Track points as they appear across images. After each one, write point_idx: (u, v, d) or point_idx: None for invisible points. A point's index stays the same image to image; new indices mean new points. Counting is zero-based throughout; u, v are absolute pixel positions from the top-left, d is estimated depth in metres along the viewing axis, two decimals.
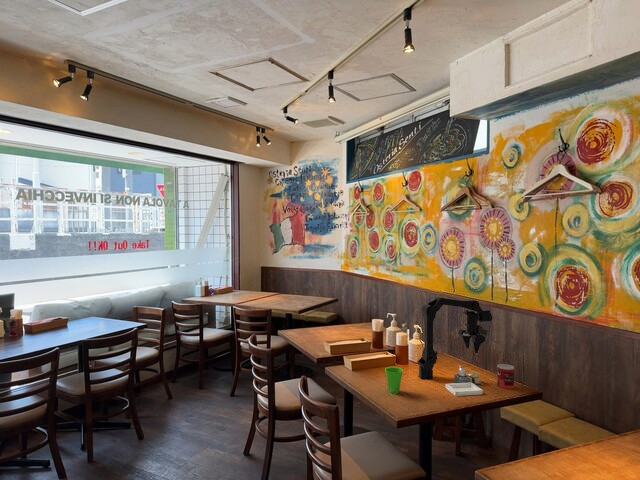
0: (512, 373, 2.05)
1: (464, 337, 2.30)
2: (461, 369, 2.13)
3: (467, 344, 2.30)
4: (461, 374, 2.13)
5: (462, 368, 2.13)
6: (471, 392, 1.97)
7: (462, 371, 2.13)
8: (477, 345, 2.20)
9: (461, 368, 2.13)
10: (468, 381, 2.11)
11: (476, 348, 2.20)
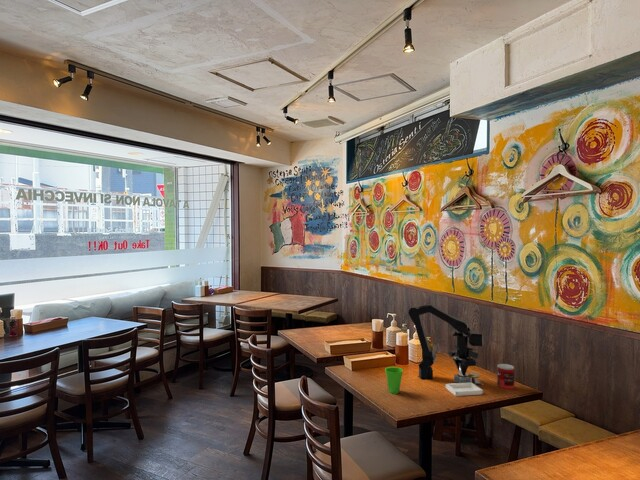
0: (512, 373, 2.05)
1: (457, 361, 2.16)
2: None
3: None
4: (461, 374, 2.13)
5: None
6: (471, 392, 1.97)
7: None
8: (464, 367, 2.11)
9: None
10: (468, 381, 2.11)
11: (463, 371, 2.11)
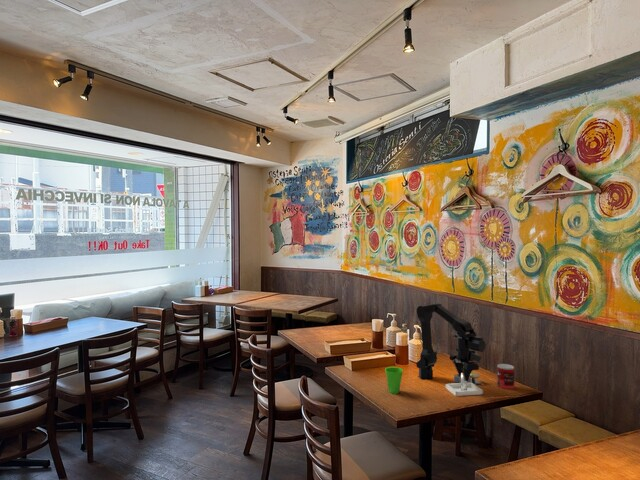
0: (512, 373, 2.05)
1: (457, 364, 2.05)
2: (463, 376, 2.01)
3: (460, 372, 2.05)
4: (463, 381, 2.01)
5: None
6: (471, 392, 1.97)
7: (464, 378, 2.01)
8: (468, 372, 1.98)
9: (463, 375, 2.02)
10: (468, 381, 2.11)
11: (467, 376, 1.98)
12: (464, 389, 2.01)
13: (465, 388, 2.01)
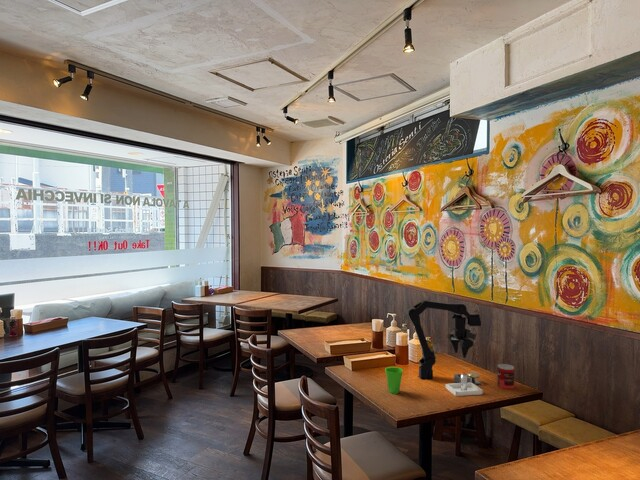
0: (512, 373, 2.05)
1: (452, 341, 2.25)
2: (463, 376, 2.01)
3: (455, 348, 2.25)
4: (463, 382, 2.01)
5: (464, 375, 2.01)
6: (471, 392, 1.97)
7: (464, 378, 2.01)
8: (465, 350, 2.15)
9: (463, 375, 2.01)
10: (468, 381, 2.11)
11: (464, 353, 2.15)
12: (464, 389, 2.01)
13: (465, 388, 2.01)
